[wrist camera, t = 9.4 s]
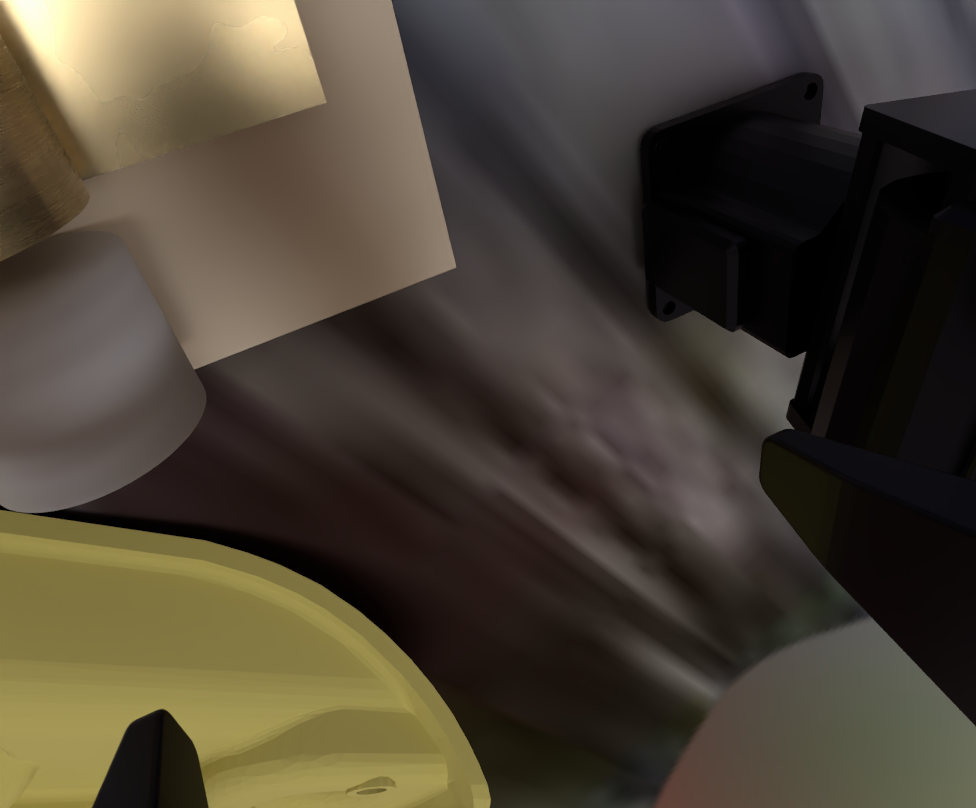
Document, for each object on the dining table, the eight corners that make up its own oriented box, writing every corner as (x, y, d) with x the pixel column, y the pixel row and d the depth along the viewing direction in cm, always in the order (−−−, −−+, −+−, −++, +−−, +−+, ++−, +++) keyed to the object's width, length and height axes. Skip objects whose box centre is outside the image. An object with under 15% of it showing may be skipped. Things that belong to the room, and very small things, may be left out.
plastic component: (-339, 919, 18) (-448, 862, 11) (-205, 630, 22) (-230, 474, 16) (374, 859, 28) (522, 811, 22) (369, 668, 32) (491, 582, 26)
